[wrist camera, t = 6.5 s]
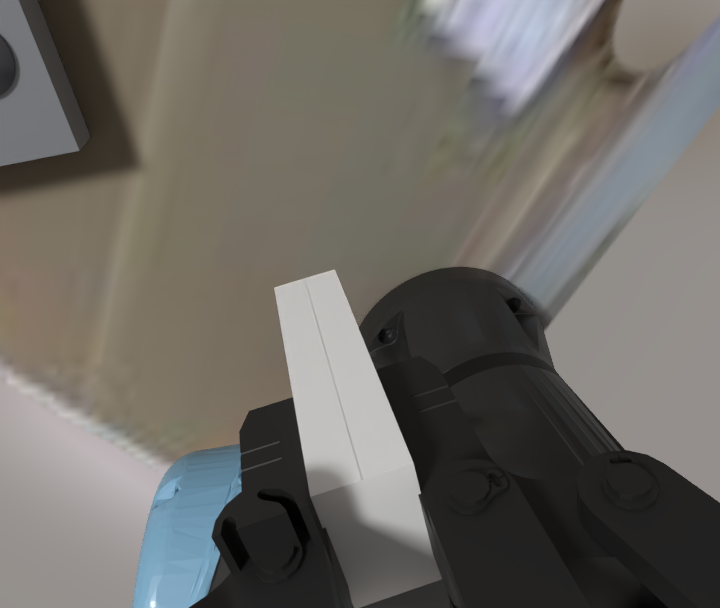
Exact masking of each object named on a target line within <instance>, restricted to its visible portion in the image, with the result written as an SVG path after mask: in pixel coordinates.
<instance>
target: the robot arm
mask: <svg viewBox="0 0 720 608" xmlns="http://www.w3.org/2000/svg"><path fill="white" fill-rule="evenodd" d="M274 289H275V295H276V301H277V307H278V312H279V318H280V324H281V330H282V336H283V341H284V347H285V353H286V359H287V365H288V371H289V376H290V382H291V388H292V394H293V397H292V398H289V399H286V400H283V401H280V402H277V403H273V404H270V405H267V406H264V407H261V408H258V409H254V410H251V411H249V413H248V415H247V417H246V419H245V421H244V423H243V425H242V428H241V430H240V432H239V433H240V444H237V445H230V446H224V447H218V448H212V449H206V450H200V451H195V452H192V453H189V454H187V455H185V456H183V457H182V458H180V459H179V460H177V461H176V462H175V463H174V464H173V465H172V466H171V467H170V468H169V469H168V471H167V472H166V473H165V475H164V477H163V478H162V480H161V482H160V484H159V487H158V489H157V491H156V494H155V497H154V500H153V503H152V506H151V510H150V513H149V517H148V520H147V524H146V529H145V533H144V538H143V543H142V547H141V552H140V558H139V564H138V569H137V575H136V582H135V589H134V596H133V605H132V608H720V503H719V502H718V501H716V500H715V499H713V498H712V497H711V496H709V495H708V494H706V493H705V492H704V491H702V490H701V489H699V488H698V487H697V486H695V485H694V484H692V483H691V482H690V481H688V480H687V479H685V478H684V477H683V476H681V475H680V474H678V473H677V472H675V471H674V470H673V469H671V468H670V467H668V466H667V465H666V464H664V463H662V462H660V461H658V460H656V459H654V458H652V457H650V456H648V455H646V454H641V453H636V452H632V451H627V450H624V448H623V447H622V446H621V445H620V444H619V442H617V440H616V439H615V438H614V437H613V436H612V435H611V433H610V432H609V431H608V430H607V429H606V428H605V427H604V425H603V424H602V423H601V422H600V421H599V420H598V419H597V418H596V417H595V415H594V414H593V413H592V412H591V411H590V410H589V409H588V408H587V406H586V405H585V404H584V403H583V402H582V401H581V399H580V398H579V397H578V396H577V395H576V394H575V393H574V392H573V390H572V389H571V388H570V387H569V386H568V385H567V384H566V383H565V381H564V380H563V379H562V378H561V377H560V376H559V374H558V373H557V372H556V371H555V369H554V366H553V362H552V359H551V355H550V352H549V348H548V345H547V341H546V338H545V334H544V331H543V327H542V324H541V322H540V319H539V317H538V315H537V313H536V312H535V310H534V308H533V307H532V305H531V304H530V303H529V302H528V301H527V299H526V298H525V297H524V296H523V295H522V294H521V293H520V292H519V291H518V290H517V289H516V288H515V287H514V286H513V285H512V284H511V283H509V282H508V281H507V280H505V279H504V278H502V277H500V276H498V275H496V274H494V273H492V272H489V271H486V270H482V269H477V268H469V267H451V268H443V269H438V270H434V271H430V272H427V273H424V274H421V275H419V276H416V277H414V278H412V279H410V280H408V281H406V282H404V283H402V284H401V285H399V286H398V287H396V288H395V289H393V290H392V291H390V292H389V293H388V294H387V295H385V296H384V297H383V298H382V299H381V300H380V301H379V302H378V303H377V304H376V305H375V306H374V307H373V308H372V309H371V311H370V312H369V313H368V314H367V316H366V317H365V319H364V320H363V322H362V324H361V325H360V327H359V328H358V325H357V323H356V321H355V318H354V316H353V313H352V311H351V308H350V306H349V303H348V301H347V298H346V296H345V294H344V291H343V289H342V286H341V284H340V281H339V279H338V276H337V274H336V271H335V269H334V270H331V271H328V272H324V273H321V274H318V275H314V276H311V277H308V278H304V279H301V280H298V281H294V282H291V283H288V284H284V285H281V286H278V287H274Z"/></svg>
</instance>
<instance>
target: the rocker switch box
mask: <svg viewBox="0 0 720 608" xmlns="http://www.w3.org/2000/svg"><path fill="white" fill-rule="evenodd" d="M90 137H91V136H90V134H89V131H88V129H87V126H86V124H85V121H84V119H83V116H82V113H81V111H80V108H79V106H78V103H77V101H76V98H75V95H74V93H73V90H72V88H71V85H70V83H69V80H68V77H67V75H66V72H65V70H64V67H63V65H62V62H61V59H60V57H59V54H58V52H57V49H56V47H55V44H54V41H53V39H52V36H51V34H50V31H49V29H48V26H47V23H46V21H45V18H44V16H43V13H42V11H41V8H40V6H39V3H38V0H0V166H4V165H9V164H14V163H19V162H25V161H30V160H35V159H40V158H45V157H50V156H55V155H60V154H66V153H71V152H76V151H80V150H81V148H82V147H83V146H84V145H85V144H86V142H87V141H88V140H89V139H90Z"/></svg>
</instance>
